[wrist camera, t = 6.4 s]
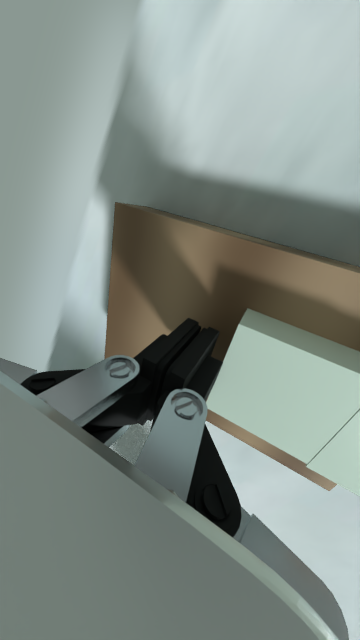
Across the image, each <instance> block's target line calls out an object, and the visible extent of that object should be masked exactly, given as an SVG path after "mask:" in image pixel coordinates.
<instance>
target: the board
mask: <svg viewBox="0 0 360 640" xmlns="http://www.w3.org/2000/svg"><path fill="white" fill-rule="evenodd" d="M247 308H248V309H251V310H253V311H256V312H259V313H261V314H264V315H266V316H269V317H272V318H274V319H277V320H279V321H282V322H284V323H287V324H290V325H292V326H295V327H297V328H300V329H302V330H305V331H308V332H310V333H313V334H315V335H318V336H321V337H323V338H326V339H328V340H331V341H333V342H336V343H339V344H341V345H344V346H346V347H349V348H351V349H354V350H357V351H359V352H360V267H358V266H354V265H351V264H347V263H344V262H340V261H337V260H333V259H330V258H326V257H323V256H319V255H315V254H312V253H308V252H305V251H301V250H298V249H294V248H291V247H287V246H284V245H280V244H277V243H273V242H270V241H266V240H263V239H259V238H255V237H252V236H248V235H245V234H241V233H238V232H234V231H231V230H227V229H224V228H220V227H217V226H213V225H210V224H206V223H203V222H199V221H195V220H192V219H188V218H185V217H181V216H178V215H174V214H171V213H167V212H164V211H160V210H157V209H153V208H150V207H145V206H138V205H131V204H124V203H117V202H115V212H114V226H113V241H112V256H111V271H110V285H109V300H108V315H107V330H106V345H105V359H106V358H108V357H111V356H115V355H125V356H129V357H131V358H134V357H135V356H136V355H138V354H139V353H140V352H141V351H142V350H144V349H145V348H146V347H147V346H148V345H150V344H151V343H152V342H153V341H154V340H156V339H157V338H158V337H159V336H161V335H162V334H165V335H167V336H168V335H169V334H170V333H171V332H172V331H174V330H175V329H176V328H177V327H178V326H179V325H180V324H182V323H183V322H184V321H185V320H186V319H187V318H190V319H193V320H195V321H197V322H199V326H201V330H202V329H203V328H206V329H207V328H208V327H211V328H214V329H216V330H218V331H220V332H219V336H218V338H217V341H216V344H215V347H214V349H213V352H212V355H211V356H212V357H214V358H216V359H218V360H220V361H222V362H223V361H224V358H225V356H226V354H227V351H228V349H229V346H230V344H231V342H232V339H233V337H234V334H235V332H236V330H237V327H238V325H239V323H240V321H241V319H242V317H243V316H244V314H245V312H246V310H247ZM208 397H209V396H208ZM207 399H208V398H207ZM206 401H207V400H206ZM206 421H208V422H210V423H211V424H213V425H215V426H217V427H218V428H220V429H222V430H224V431H225V432H227V433H229V434H231V435H232V436H234V437H236V438H238V439H239V440H241V441H243V442H244V443H246V444H248V445H250V446H251V447H253V448H255V449H257V450H258V451H260V452H262V453H264V454H265V455H267V456H269V457H271V458H272V459H274V460H276V461H278V462H279V463H281V464H283V465H284V466H286V467H288V468H290V469H291V470H293V471H295V472H297V473H298V474H300V475H302V476H304V477H305V478H307V479H309V480H311V481H312V482H314V483H316V484H318V485H319V486H321V487H323V488H325V489H326V490H328V491H330V490H331V489H332V488H333V487H335V486H336V485H337V484H336V483H334V482H333V481H331V480H329V479H327V478H325V477H324V476H322V475H320V474H318V473H316V472H315V471H313V470H311V469H309V468H307V467H306V463H304V462H302V461H301V460H299V459H297V458H295V457H293V456H292V455H290V454H288V453H286V452H285V451H283V450H281V449H279V448H277V447H276V446H274V445H272V444H270V443H268V442H267V441H265V440H263V439H261V438H259V437H258V436H256V435H254V434H252V433H250V432H249V431H247V430H245V429H243V428H242V427H240V426H238V425H236V424H234V423H233V422H231V421H229V420H227V419H225V418H224V417H222V416H220V415H218V414H216V413H215V412H213V411H211V410H209V409H207V417H206Z"/></svg>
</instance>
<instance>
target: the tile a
mask: <svg viewBox="0 0 360 640" xmlns="http://www.w3.org/2000/svg"><path fill="white" fill-rule="evenodd" d="M206 404H207V408H208V409H209V410H211V411H213V412H215V413H216V414H218V415H220V416H222V417H224V418H225V419H227V420H229V421H231V422H233V423H234V424H236V425H238V426H240V427H242V428H243V429H245V430H247V431H249V432H250V433H252V434H254V435H256V436H258V437H259V438H261V439H263V440H265V441H267V442H268V443H270V444H272V445H274V446H276V447H277V448H279V449H281V450H283V451H285V452H286V453H288V454H290V455H292V456H293V457H295V458H297V459H299V460H301V461H302V462H304V463H306V464H308V463H309V462H310V461H311V460H312V459H313V458H314V457H315V455H316V454H317V453H318V452H319V451H320V450H321V449H322V448H323V447H324V446H325V445H326V444H327V443H328V442H329V441H330V440H331V439H332V438H333V436H334V435H335V434H336V433H337V432H338V431H339V430H340V429H341V428H342V427H343V426H344V425H345V424H346V423H347V422H348V421H349V420H350V418H351V417H352V416H353V415H354V414H355V413H356V412H357V411H358V410H359V409H360V352H359V351H357V350H354V349H351V348H349V347H346V346H344V345H341V344H339V343H336V342H333V341H331V340H328V339H326V338H323V337H321V336H318V335H315V334H313V333H310V332H308V331H305V330H302V329H300V328H297V327H295V326H292V325H290V324H287V323H284V322H282V321H279V320H277V319H274V318H272V317H269V316H266V315H264V314H261V313H259V312H256V311H253V310H251V309H248V308H247V310H246V312H245V314H244V316H243V317H242V319H241V321H240V323H239V325H238V327H237V330H236V332H235V334H234V337H233V339H232V342H231V344H230V346H229V349H228V351H227V354H226V356H225V358H224V361H223V364H222V367H221V369H220V372H219V374H218V377H217V379H216V381H215V383H214V386H213V388H212V390H211V392H210V394H209V397H208V399H207V401H206Z"/></svg>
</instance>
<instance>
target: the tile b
mask: <svg viewBox="0 0 360 640" xmlns="http://www.w3.org/2000/svg"><path fill="white" fill-rule="evenodd" d="M306 467H307V468H309V469H311V470H313V471H315V472H316V473H318V474H320V475H322V476H324V477H325V478H327V479H329V480H331V481H333V482H334V483H336V484H338V485H340V486H342V487H343V488H345V489H347V490H349V491H351V492H352V493H354V494H356V495H358V496H360V409H359V410H358V411H357V412H356V413H355V414H354V415H353V416H352V417H351V418H350V420H349V421H348V422H347V423H346V424H345V425H344V426H343V427H342V428H341V429H340V430H339V431H338V432H337V433H336V434H335V435H334V436H333V438H332V439H331V440H330V441H329V442H328V443H327V444H326V445H325V446H324V447H323V448H322V449H321V450H320V451H319V452H318V453H317V454H316V455H315V457H314V458H313V459H312V460H311V461H310V462H309V463H308V464H306Z"/></svg>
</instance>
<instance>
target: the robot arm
mask: <svg viewBox="0 0 360 640" xmlns="http://www.w3.org/2000/svg"><path fill="white" fill-rule="evenodd" d="M219 332H220V331H218V330H216V329H214V328H211V327H208V328H207V329H206V328H203V329H202V330H201V326H199V322H197V321H195V320H193V319H190V318H187V319H186V320H185V321H184V322H183V323H182V324H180V325H179V326H178V327H177V328H176V329H175V330H174V331H172V332H171V333H170V334H169V335H168V336H167V335H165V334H162V335H161V336H159V337H158V338H157V339H156V340H154V341H153V342H152V343H151V344H150V345H148V346H147V347H146V348H145V349H144V350H142V351H141V352H140V353H139V354H138V355H136V356H135V357H134V358H131V357H129V356H125V355H115V356H111V357H108V358H106V359H104V360H102V361H101V362H99V363H97V364H95V365H93V366H91V367H89V368H87V369H80V370H64V371H48V372H41V373H37V370H34V369H31V368H28V367H25V366H22V365H19V364H16V363H13V362H10V361H7V360H5V359H2V358H0V640H349V637H348V629H347V626H346V623H345V620H344V617H343V614H342V611H341V609H340V607H339V605H338V603H337V601H336V599H335V598H334V596H333V594H332V593H331V591H330V590H329V589H328V588H327V586H326V585H325V584H324V583H323V582H322V580H321V579H320V578H319V577H318V576H317V575H315V574H314V573H313V572H312V571H311V570H310V569H309V568H308V567H307V566H306V565H305V564H304V563H303V562H302V561H301V560H300V559H299V558H298V557H297V556H296V555H295V554H294V553H293V552H292V551H291V550H290V549H289V548H288V547H287V546H286V545H285V544H284V543H283V542H282V541H281V540H280V539H279V538H278V537H277V536H276V535H275V534H274V533H273V532H272V531H271V530H270V529H268V528H267V527H266V526H265V525H264V524H263V523H262V522H261V521H260V520H259V519H258V518H257V517H256V516H255V515H254V514H252V515H251V516H250V515H249V514H248V513H247V512H246V511H245V510H244V509H243V508H242V507H241V505H240V502H239V499H238V496H237V494H236V491H235V489H234V487H233V485H232V483H231V480H230V478H229V476H228V474H227V471H226V469H225V467H224V465H223V462H222V460H221V458H220V456H219V454H218V451H217V449H216V447H215V445H214V442H213V440H212V438H211V436H210V434H209V431H208V429H207V427H206V425H205V421H206V417H207V409H208V408H207V404H206V400H207V398H208V396H209V394H210V392H211V390H212V388H213V386H214V383H215V381H216V379H217V377H218V374H219V372H220V369H221V367H222V364H223V362H222V361H220V360H218V359H216V358H214V357H212V356H211V355H212V352H213V349H214V347H215V344H216V341H217V338H218V336H219ZM147 419H148V420H150V421H152V419H153V423H152V427H151V431H150V434H149V436H148V438H147V440H146V442H145V444H144V446H143V448H142V451H141V453H140V455H139V457H138V459H137V461H136V463H135V465H132V464H131V463H130V462H128V461H127V460H126V459H124V458H123V457H121V456H120V455H119V454H117V453H116V452H114V451H113V450H112V449H110V448H109V447H110V446H111V445H112V444H113V443H114V442H115V441H116V440H117V439H118V438H119V437H120V436H122V435H123V434H124V433H125V432H126V431H127V429H128V428H129V426H130V425H132V424H137V423H139V424H141V425H142V426H143V425H144V423H145V422H146V421H147Z"/></svg>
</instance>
